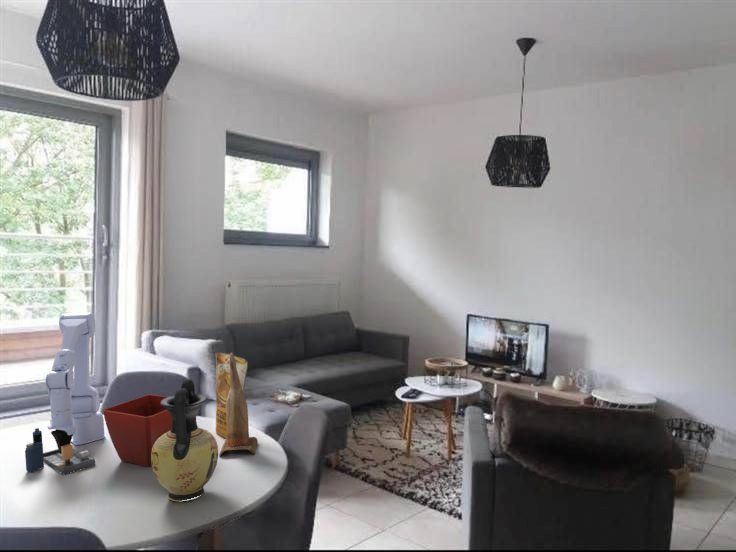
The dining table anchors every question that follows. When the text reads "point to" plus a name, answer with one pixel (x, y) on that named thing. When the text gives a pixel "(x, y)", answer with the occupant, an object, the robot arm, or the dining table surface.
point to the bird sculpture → (237, 415)
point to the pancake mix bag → (226, 387)
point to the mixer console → (76, 463)
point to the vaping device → (34, 452)
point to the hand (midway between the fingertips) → (64, 452)
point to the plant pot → (137, 427)
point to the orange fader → (67, 452)
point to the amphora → (184, 447)
